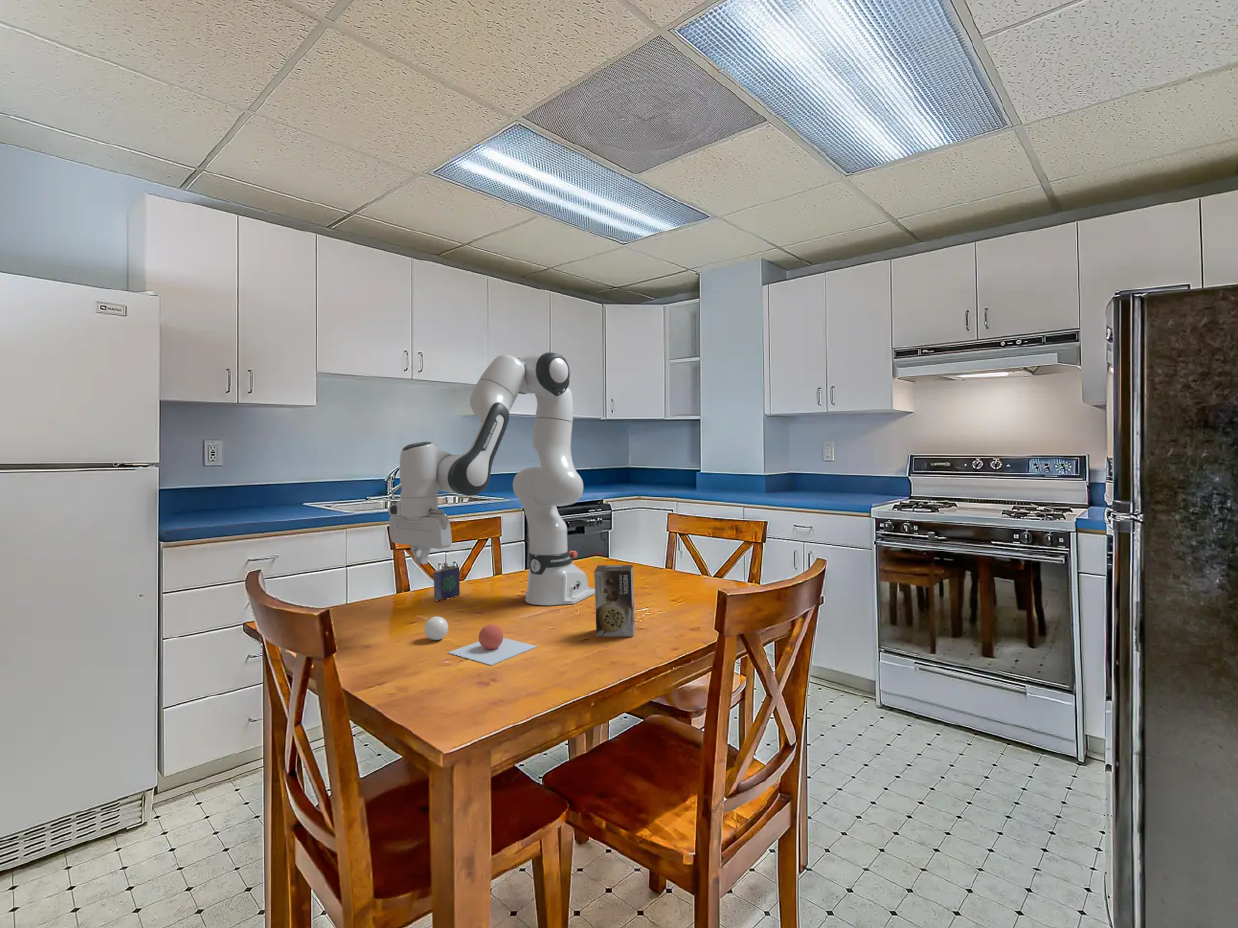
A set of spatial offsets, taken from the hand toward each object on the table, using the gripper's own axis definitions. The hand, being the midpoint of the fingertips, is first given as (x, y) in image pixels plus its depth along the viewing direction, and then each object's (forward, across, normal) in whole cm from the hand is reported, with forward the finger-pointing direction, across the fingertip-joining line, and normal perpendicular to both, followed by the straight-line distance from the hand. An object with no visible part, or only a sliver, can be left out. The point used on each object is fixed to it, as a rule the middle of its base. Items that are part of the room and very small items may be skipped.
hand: (421, 563), depth 156 cm
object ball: (+14, -24, 0) cm, 28 cm away
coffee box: (+17, -41, -25) cm, 51 cm away
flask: (+17, +22, -25) cm, 38 cm away
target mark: (+17, -25, 0) cm, 30 cm away
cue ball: (+14, -8, +2) cm, 17 cm away
